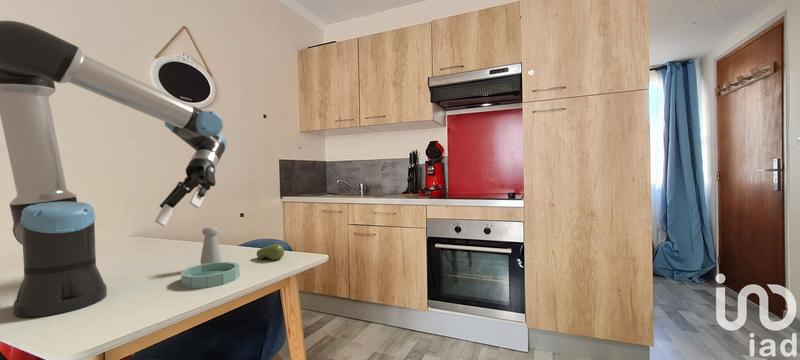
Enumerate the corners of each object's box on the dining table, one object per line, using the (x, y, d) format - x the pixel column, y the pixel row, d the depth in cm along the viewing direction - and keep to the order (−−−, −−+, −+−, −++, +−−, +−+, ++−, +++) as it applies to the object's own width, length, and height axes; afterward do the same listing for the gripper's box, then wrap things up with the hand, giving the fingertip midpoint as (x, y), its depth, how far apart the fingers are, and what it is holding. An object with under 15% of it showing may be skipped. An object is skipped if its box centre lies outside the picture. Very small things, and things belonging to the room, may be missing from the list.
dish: (170, 289, 85) (170, 278, 85) (196, 273, 99) (196, 263, 99) (227, 286, 87) (227, 275, 87) (245, 270, 101) (245, 261, 101)
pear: (275, 245, 110) (251, 248, 113) (278, 261, 110) (254, 264, 113) (286, 241, 115) (263, 245, 118) (288, 256, 115) (265, 259, 118)
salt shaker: (205, 271, 100) (204, 229, 100) (197, 268, 104) (196, 227, 103) (225, 267, 105) (224, 226, 104) (216, 264, 108) (215, 225, 108)
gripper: (239, 158, 108) (220, 205, 92) (185, 188, 114) (158, 237, 98) (221, 142, 103) (197, 189, 87) (165, 174, 109) (133, 223, 94)
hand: (176, 214), depth 93 cm, fingers open, 13 cm apart
